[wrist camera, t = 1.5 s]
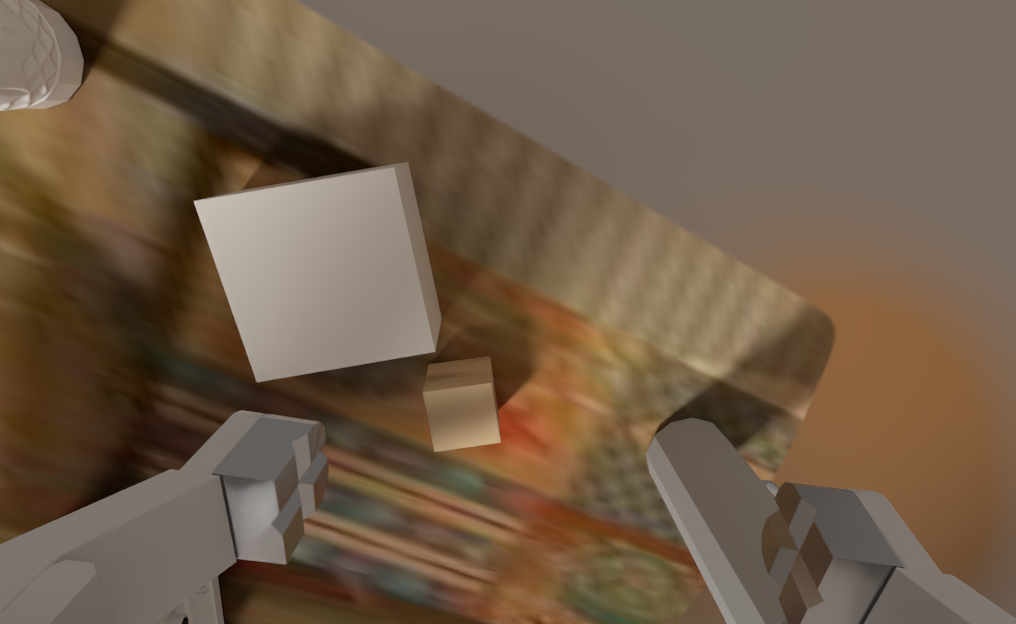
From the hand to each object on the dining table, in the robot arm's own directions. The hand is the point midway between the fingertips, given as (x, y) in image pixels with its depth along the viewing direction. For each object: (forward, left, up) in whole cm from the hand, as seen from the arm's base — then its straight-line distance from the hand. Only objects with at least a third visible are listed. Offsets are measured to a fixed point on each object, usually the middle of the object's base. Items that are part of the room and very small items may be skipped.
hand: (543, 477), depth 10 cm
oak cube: (-13, +4, -32) cm, 35 cm away
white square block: (-1, +11, -32) cm, 34 cm away
